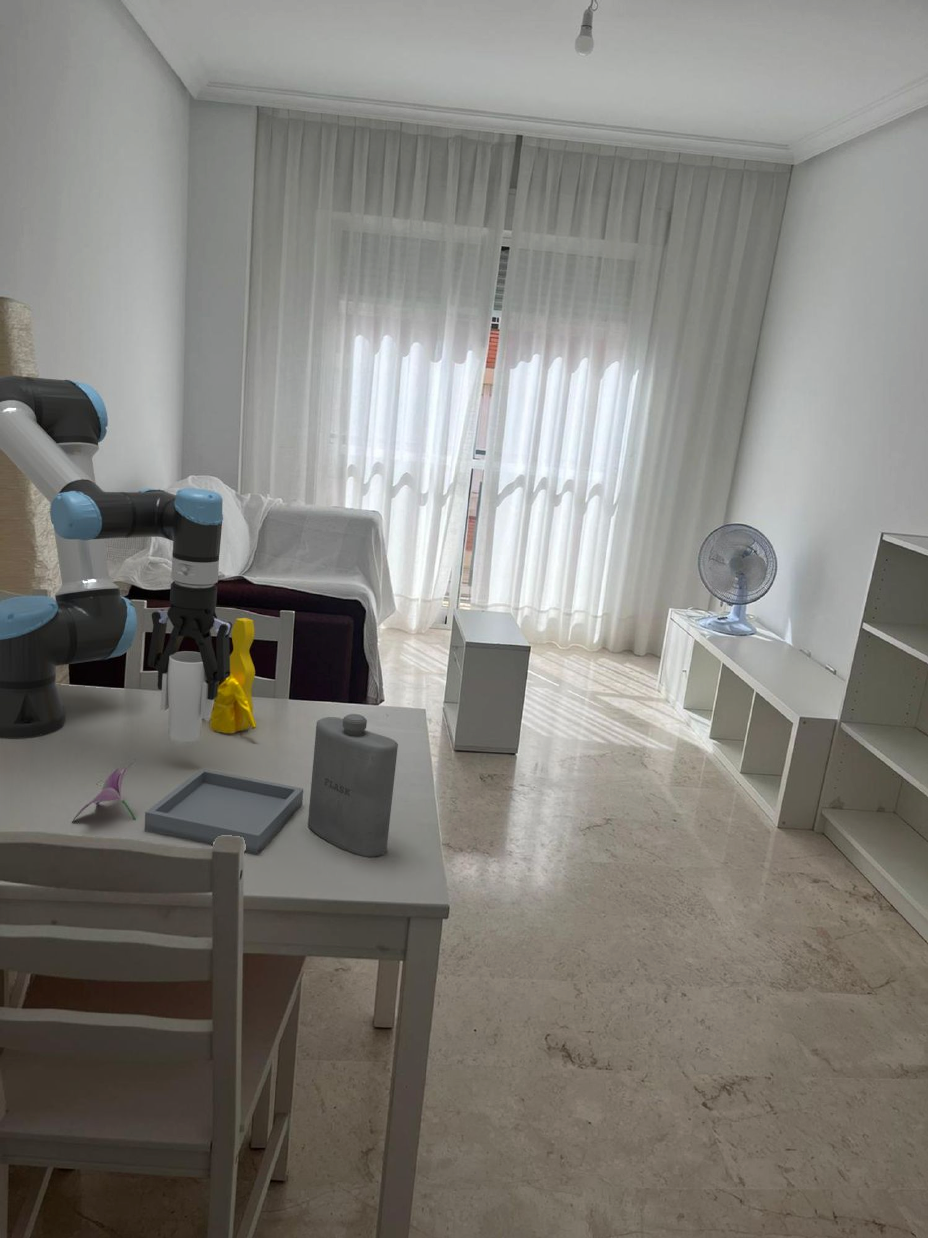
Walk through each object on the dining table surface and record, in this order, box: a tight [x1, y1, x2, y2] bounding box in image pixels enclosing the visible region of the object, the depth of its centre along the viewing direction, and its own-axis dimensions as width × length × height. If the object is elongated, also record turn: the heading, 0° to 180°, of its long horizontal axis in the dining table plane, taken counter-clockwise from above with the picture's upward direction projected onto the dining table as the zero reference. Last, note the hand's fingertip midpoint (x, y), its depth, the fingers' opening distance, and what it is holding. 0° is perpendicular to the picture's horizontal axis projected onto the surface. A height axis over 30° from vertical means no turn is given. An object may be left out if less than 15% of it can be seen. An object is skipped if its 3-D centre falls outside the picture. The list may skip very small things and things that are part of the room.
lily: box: [71, 756, 139, 823], centre depth 139 cm, size 12×12×10 cm
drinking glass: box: [168, 650, 207, 744], centre depth 159 cm, size 7×7×15 cm
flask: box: [307, 713, 399, 858], centre depth 140 cm, size 15×6×20 cm, turn 53°
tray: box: [144, 768, 304, 855], centre depth 144 cm, size 18×18×3 cm
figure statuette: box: [209, 617, 257, 734], centre depth 178 cm, size 18×8×22 cm, turn 57°
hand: (186, 711), depth 159 cm, fingers closed on drinking glass, 7 cm apart
